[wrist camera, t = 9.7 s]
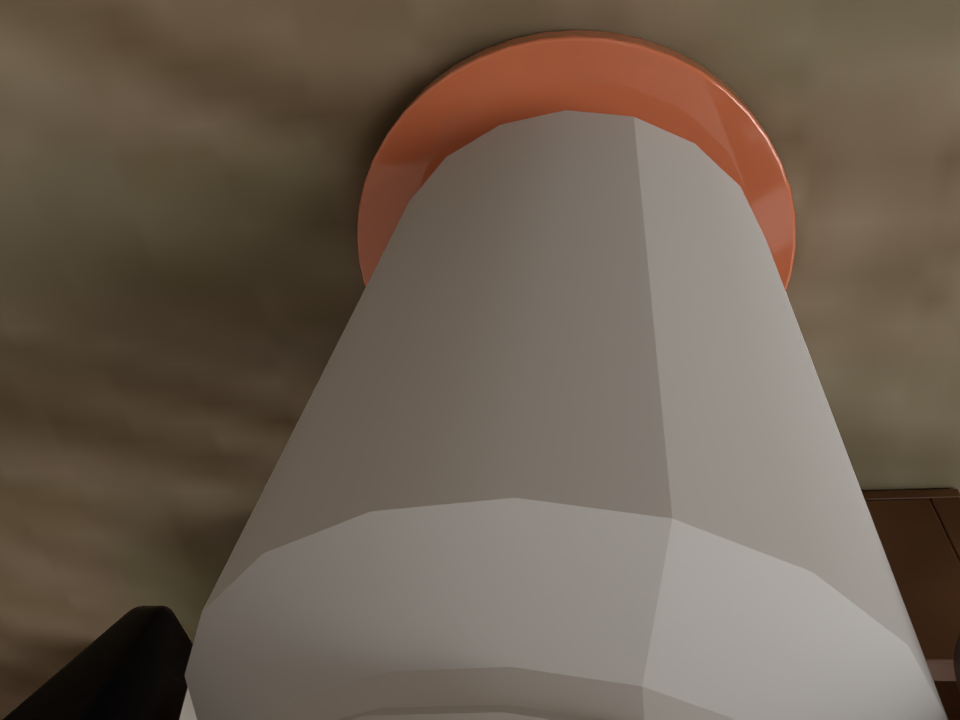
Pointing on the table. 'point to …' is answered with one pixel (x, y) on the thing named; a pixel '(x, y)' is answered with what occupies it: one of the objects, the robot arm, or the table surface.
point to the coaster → (585, 88)
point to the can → (565, 471)
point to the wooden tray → (926, 572)
